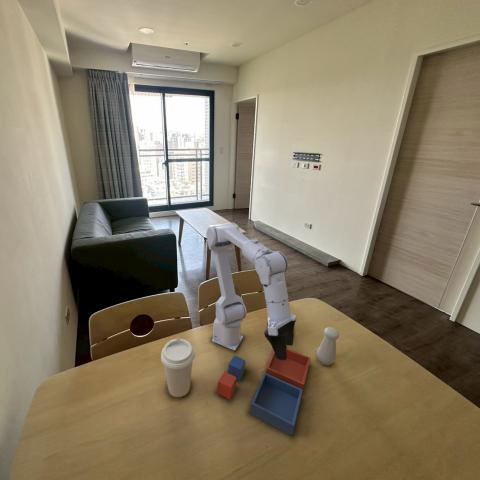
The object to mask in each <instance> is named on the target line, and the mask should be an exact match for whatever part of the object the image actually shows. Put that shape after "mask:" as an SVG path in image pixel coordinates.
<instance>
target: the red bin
mask: <svg viewBox="0 0 480 480" xmlns="http://www.w3.org/2000/svg"><path fill="white" fill-rule="evenodd" d="M310 363H311V357H310V356H307V355H305V354H302V353H299V352H297V351H294V350H292V349H290V348H287V357H286V360H279V359H277V357H276V355H275V352H274V350H273V351H272V353H271V356H270V358H269V361H268V363H267V365H266V369H265V373H267V374H269V375H271V376H273V377H276V378H278V379H280V380H282V381H285V382H287V383H289V384H291V385H293V386H296V387H298V388H300V389H302V390H303V391H304V387H305V382H306V378H307V375H308V370H309V367H310ZM303 391H302V393H303Z"/></svg>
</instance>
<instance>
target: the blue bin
mask: <svg viewBox="0 0 480 480" xmlns="http://www.w3.org/2000/svg"><path fill="white" fill-rule="evenodd" d="M302 391H304V389H303V390H302V389H300V388H298V387H296V386H293V385H291V384H289V383H287V382H285V381H282V380H280V379H278V378H276V377H273V376H271V375H269V374H267V373H266V372H264V373H263V374H262V377H261V380H260V382H259V385H258V387H257V389H256V392H255V394H254V396H253V399H252V400H251V401H252V402H251V405H250V411H249V412H250V414H251V415H252V416H254V417H256V418H258V419H260V420H261V421H264V422H265V423H267V424H269V425H271V426H273V427H274V428H276V429H279V430H280V431H282V432H284V433H285V434H287V435H289V436H291V437H293V435H294V430H295V426H296V422H297V417H298V412H299V408H300V405H301V400H302V395H303V392H302Z"/></svg>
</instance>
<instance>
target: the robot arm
mask: <svg viewBox="0 0 480 480" xmlns="http://www.w3.org/2000/svg"><path fill="white" fill-rule="evenodd" d="M205 235H206V241H207V246H208V249H209V250H210V251H212V254H213V260H214V265H215V269H216V275H217V280H218V285H219V290H220V295H221V296H220V297H219V299H218V300H217V301H216V302H215V319H214V321H213V325H212V338H211V341H212V343H215V344H218V345H220V346H223V347H225V348H227V349H229V350H232V351H233V352H235V351H236V350H237V349H238V347H239V346H240V345H241V342H242V340H243V339H244V336H243V334H241V325H242V324H241V323H242V322H243V320H244V319H246V317H247V314H248V313H247V312H248V310H247V307H246V305H245V303H244V299H243V298H242V297H241V296H240V295H238V294H236V289H235V284H234V279H233V274H232V269H231V264H230V259H229V253H228V251H229V249H230V247H232V246H233V245H235V246H236V247H237V248H239V249H241V254H242V256H243V257H244V258H245V259H247V260H248V261H249V262H250V263H251V264H252V265H254V269H255V272H256V273H257V275H258V277H259V282H260V283H261V284H262V287H263V293H264V299H265V306H266V312H267V324H268V323H269V326H268V325H267V329H265V331H264V332H263V335H264V338H265V339H266V340H267V341H268V343H269V344H270V345H271V347H272V350H273V351H274V352H275V355H276V357H277V359H279V360H286V357H287V349H288V347H287V346H291V347H292V346H293V345H294V338H295V336H294V326H295V324H296V322H297V318H298V317H297V315H295V314H292V311H291V306H290V300H289V299H290V298H289V294H288V289H287V282H286V275H285V273H286V272H287V270H288V268H289V261H288V259H287V257H286V255H285V253H283V252H282V251H281V250H276V251H274V250H271V249H270V248H269V247H266V246H265V245H264V244H262V243H261V242H260V240H259V239H257V238H255V239H254V238H253V239H249V238H248V237H247V236H246V235H244V233H242V231H241V230H240V226H239V224H236V223H235V222H233V221H232V222H228V223H222V224H214V225H209V226H208V227H207V230H206V233H205ZM295 327H296V326H295Z"/></svg>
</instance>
